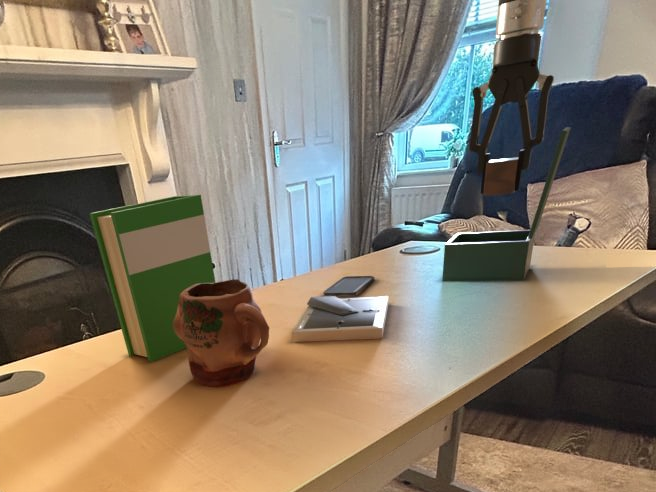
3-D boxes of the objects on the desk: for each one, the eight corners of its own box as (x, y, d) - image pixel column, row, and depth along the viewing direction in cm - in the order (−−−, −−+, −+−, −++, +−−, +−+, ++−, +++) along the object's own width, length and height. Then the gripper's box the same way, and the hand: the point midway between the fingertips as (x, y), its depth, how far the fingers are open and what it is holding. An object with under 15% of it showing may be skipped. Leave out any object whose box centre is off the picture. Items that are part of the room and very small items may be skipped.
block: (516, 189, 105) (520, 156, 102) (513, 193, 102) (517, 159, 98) (487, 192, 108) (490, 160, 105) (483, 195, 104) (486, 162, 101)
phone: (375, 275, 125) (355, 292, 114) (375, 280, 125) (355, 298, 115) (343, 276, 128) (321, 292, 117) (344, 281, 129) (321, 298, 118)
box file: (442, 282, 117) (444, 244, 113) (453, 269, 126) (456, 233, 122) (523, 282, 110) (529, 241, 106) (529, 268, 119) (535, 229, 115)
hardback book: (151, 363, 95) (113, 212, 81) (129, 357, 99) (89, 213, 86) (224, 334, 104) (200, 194, 91) (200, 330, 109) (174, 196, 95)
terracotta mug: (304, 375, 82) (296, 280, 74) (251, 405, 75) (236, 304, 67) (216, 357, 94) (201, 273, 86) (163, 382, 87) (142, 293, 79)
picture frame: (311, 310, 111) (293, 343, 95) (311, 296, 109) (291, 328, 93) (388, 306, 107) (382, 340, 91) (388, 291, 106) (382, 323, 89)
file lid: (562, 130, 94) (567, 130, 94) (566, 127, 103) (570, 127, 103) (527, 238, 106) (531, 239, 105) (534, 227, 114) (538, 227, 114)
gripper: (458, 45, 92) (448, 197, 106) (578, 22, 85) (550, 189, 98) (466, 47, 98) (455, 192, 111) (579, 26, 90) (553, 184, 103)
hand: (500, 191), depth 105 cm, fingers closed on block, 5 cm apart
